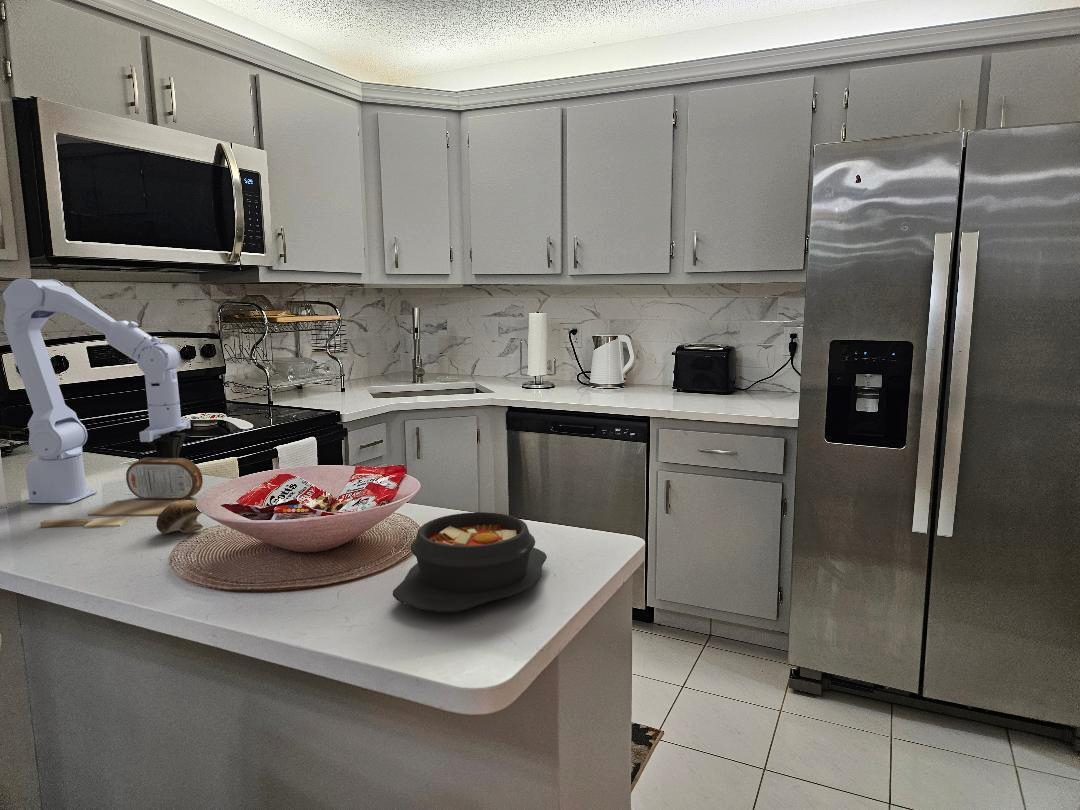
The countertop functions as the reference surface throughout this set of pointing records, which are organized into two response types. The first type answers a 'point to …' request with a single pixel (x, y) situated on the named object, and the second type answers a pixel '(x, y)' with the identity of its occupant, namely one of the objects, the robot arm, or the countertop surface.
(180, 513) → the mushroom
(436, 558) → the casserole
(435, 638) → the countertop surface
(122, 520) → the turner
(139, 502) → the tan flat board
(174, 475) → the tin
